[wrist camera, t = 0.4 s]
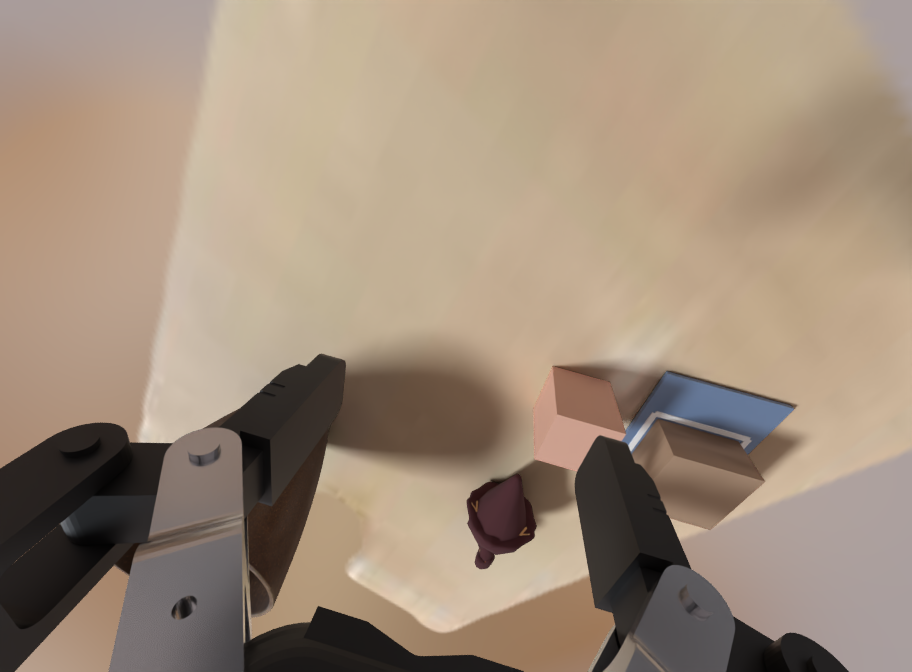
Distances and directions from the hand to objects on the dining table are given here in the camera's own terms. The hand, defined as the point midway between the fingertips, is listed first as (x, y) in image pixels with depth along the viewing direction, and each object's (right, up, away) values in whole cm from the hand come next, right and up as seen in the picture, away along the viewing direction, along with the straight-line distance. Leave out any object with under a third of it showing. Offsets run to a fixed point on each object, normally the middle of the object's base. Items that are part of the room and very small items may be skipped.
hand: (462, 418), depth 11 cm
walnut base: (+20, -8, +21) cm, 30 cm away
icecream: (+5, -14, +29) cm, 32 cm away
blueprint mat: (+20, -7, +21) cm, 30 cm away
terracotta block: (+10, -3, +20) cm, 23 cm away
